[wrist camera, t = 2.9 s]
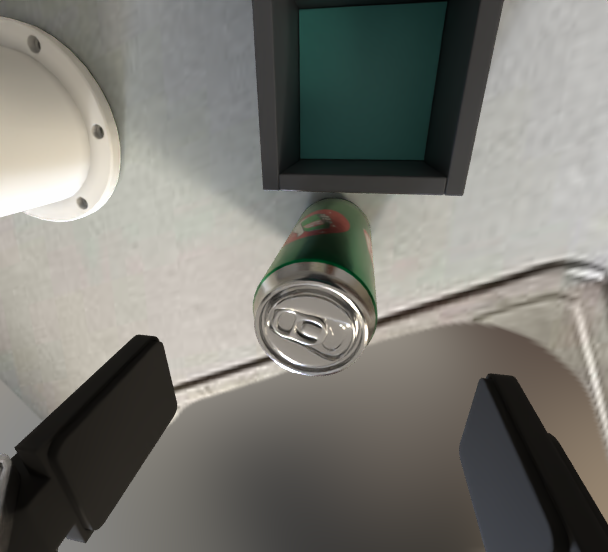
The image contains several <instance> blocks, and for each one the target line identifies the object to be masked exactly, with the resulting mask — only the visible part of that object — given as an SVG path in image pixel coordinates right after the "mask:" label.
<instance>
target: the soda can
mask: <svg viewBox="0 0 608 552" xmlns="http://www.w3.org/2000/svg"><path fill="white" fill-rule="evenodd" d="M253 315H254V320H255V321H254V327H255V333H256V336H257V339H258V342H259V343H260V345H261V347H262V349H263V350H264V351H265V353H266V354H267V355H268V356H269V357H270V358H271V359H272V360H273V361H275V362H276V363H277V364H279V365H280V366H282V367H284V368H285V369H288V370H290V371H292V372H295V373H299V374H303V375H309V376H324V375H330V374H334V373H337V372H340V371H342V370H344V369H346V368H348V367H349V366H351V365H352V364H353V363H355V361H356V360H357V359H358V358H359V357H360V356H361V354H362V353H363V351H364V349H365V347H366V346H367V345H368V343H369V342H370V340H371V339H372V337H373V335H374V332H375V330H376V325H377V302H376V290H375V278H374V266H373V254H372V241H371V230H370V225H369V222H368V220H367V218H366V216H365V214H364V213H363V212H362V210H360V209H359V208H358V207H357V206H356V205H354V204H353V203H351V202H349V201H347V200H343V199H338V198H328V199H323V200H320V201H318V202H316V203H314V204H312V205H311V206H310V207H308V208H307V209H306V210H305V212H304V213H303V214H302V216H301V217H300V219H299V221H298V222H297V224H296V226H295V227H294V229H293V230H292V232H291V234H290V235H289V237H288V239H287V240H286V242H285V243H284V245H283V247H282V248H281V250H280V252H279V253H278V255H277V256H276V258H275V260H274V261H273V263H272V265H271V266H270V268H269V269H268V271H267V273H266V274H265V276H264V277H263V279H262V281H261V282H260V284H259V286H258V287H257V290H256V292H255V295H254V300H253Z"/></svg>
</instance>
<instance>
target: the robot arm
mask: <svg viewBox="0 0 608 552" xmlns="http://www.w3.org/2000/svg"><path fill="white" fill-rule="evenodd" d="M120 165H121V152H120V141H119V136H118V131H117V126H116V123H115V120H114V117H113V115H112V112H111V109H110V106H109V104H108V102H107V100H106V98H105V96H104V94H103V92H102V90H101V88H100V87H99V85H98V84H97V82H96V81H95V79H94V78H93V76H92V75H91V74H90V72H89V71H88V69H87V68H86V67H85V65H84V64H83V63H82V62H81V61H80V60H79V59H78V58H77V57H76V56H75V55H74V54H73V53H72V51H71V50H69V49H68V48H67V47H66V46H64V45H63V44H62V43H61V42H60V41H58V40H57V39H56V38H55V37H53V36H52V35H50V34H48V33H46V32H44V31H43V30H41V29H39V28H37V27H36V26H33V25H30V24H27V23H24V22H21V21H18V20H15V19H11V18H6V17H1V16H0V217H3V216H7V215H10V214H14V213H18V212H21V211H22V212H24V213H26V214H28V215H30V216H33V217H36V218H39V219H42V220H48V221H55V222H62V221H72V220H75V219H78V218H82V217H85V216H87V215H89V214H91V213H94V212H96V211H97V210H98V209H99V208H101V207H102V206H103V205H104V204H105V203H106V202H107V201H108V199H109V198H110V196H111V195H112V193H113V192H114V189H115V186H116V184H117V181H118V178H119V172H120ZM176 410H177V401H176V397H175V393H174V388H173V384H172V380H171V376H170V371H169V367H168V363H167V359H166V354H165V350H164V346H163V343H162V342H159V339H158V338H157V337H155V336H147V335H136V336H134V337H133V338H132V339H131V340H130V341H129V342H128V343H127V344H126V345H124V346H123V347H122V348H121V349H120V350H119V351H118V352H117V353H116V354H115V355H114V356H113V357H112V358H110V359H109V360H108V361H107V362H106V363H105V364H104V365H103V366H102V367H101V368H100V369H99V370H98V371H96V372H95V373H94V374H93V375H92V376H91V377H90V378H89V379H88V380H87V381H86V382H85V383H84V384H82V385H81V386H80V387H79V388H78V389H77V390H76V391H75V392H74V393H73V394H72V395H71V396H70V397H68V398H67V399H66V400H65V401H64V402H63V403H62V404H61V405H60V406H59V407H58V408H57V409H56V410H54V411H53V412H52V413H51V414H50V415H49V416H48V417H47V418H46V419H45V420H44V421H43V422H42V423H41V424H40V425H38V426H37V427H36V428H35V429H34V430H33V431H32V432H31V433H30V434H29V435H28V436H27V437H25V438H24V439H23V440H22V441H21V442H20V443H19V444H18V445H17V446H16V447H15V450H16V451H17V454H16V455H15V456H13V457H12V458H11V459H10V458H9V456H8V455H6V454H2V453H0V552H58V547H59V545H60V544H61V543H62V541H63V539H64V538H65V537H66V538H67V539H70V540H74V541H78V542H83V543H86V542H87V541H88V539H89V538H90V536H91V534H92V533H93V532H94V530H97V529H99V528H100V527H101V526H102V525H103V524H104V522H105V521H106V519H107V518H108V516H109V515H110V513H111V512H112V510H113V509H114V507H115V506H116V504H117V503H118V501H119V500H120V498H121V497H122V495H123V493H124V492H125V490H126V489H127V487H128V486H129V484H130V482H131V481H132V480H133V478H134V477H135V475H136V474H137V472H138V470H139V469H140V467H141V465H142V464H143V463H144V461H145V459H146V458H147V456H148V455H149V454H150V452H151V451H152V449H153V447H154V446H155V444H156V443H157V441H158V440H159V438H160V437H161V435H162V434H163V432H164V431H165V429H166V428H167V426H168V424H169V423H170V421H171V420H172V418H173V417H174V415H175V413H176ZM459 454H460V460H461V463H462V467H463V470H464V474H465V478H466V481H467V485H468V489H469V492H470V496H471V500H472V503H473V507H474V511H475V514H476V518H477V522H478V525H479V529H480V532H481V536H482V540H483V543H484V547H485V550H486V552H608V524H607V522H606V521H605V519H604V517H603V516H602V514H601V512H600V511H599V509H598V507H597V505H596V504H595V502H594V500H593V499H592V497H591V495H590V494H589V492H588V490H587V489H586V487H585V485H584V484H583V482H582V480H581V479H580V477H579V475H578V474H577V472H576V470H575V469H574V467H573V465H572V463H571V462H570V460H569V458H568V457H567V455H566V454H565V452H564V450H563V448H562V447H561V445H560V443H559V442H558V441H557V439H556V438H555V437H554V436H552V435H551V434H549V433H547V431H546V430H545V428H544V426H543V424H542V423H541V421H540V419H539V417H538V416H537V414H536V412H535V411H534V409H533V407H532V405H531V404H530V402H529V400H528V398H527V397H526V395H525V393H524V392H523V390H522V388H521V386H520V384H519V383H518V382H517V380H516V378H515V377H513V376H509V375H500V374H488V375H487V377H486V378H481V379H480V380H479V382H478V386H477V389H476V392H475V396H474V399H473V402H472V406H471V409H470V412H469V416H468V419H467V422H466V425H465V429H464V432H463V435H462V439H461V442H460V447H459Z"/></svg>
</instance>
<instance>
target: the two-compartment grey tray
mask: <svg viewBox="0 0 608 552" xmlns="http://www.w3.org/2000/svg"><path fill="white" fill-rule="evenodd" d="M503 2H504V0H252V7H253V24H254V41H255V59H256V76H257V93H258V110H259V127H260V144H261V161H262V178H263V190H269V191H279V190H281V191H310V192H346V193H382V194H418V195H443V194H444V195H451V196H462V195H463V194H464V189H465V184H466V179H467V174H468V170H469V165H470V160H471V155H472V150H473V146H474V141H475V136H476V131H477V126H478V122H479V117H480V112H481V107H482V102H483V98H484V93H485V88H486V83H487V78H488V74H489V69H490V64H491V59H492V54H493V50H494V45H495V40H496V35H497V30H498V26H499V21H500V16H501V11H502V6H503Z"/></svg>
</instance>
